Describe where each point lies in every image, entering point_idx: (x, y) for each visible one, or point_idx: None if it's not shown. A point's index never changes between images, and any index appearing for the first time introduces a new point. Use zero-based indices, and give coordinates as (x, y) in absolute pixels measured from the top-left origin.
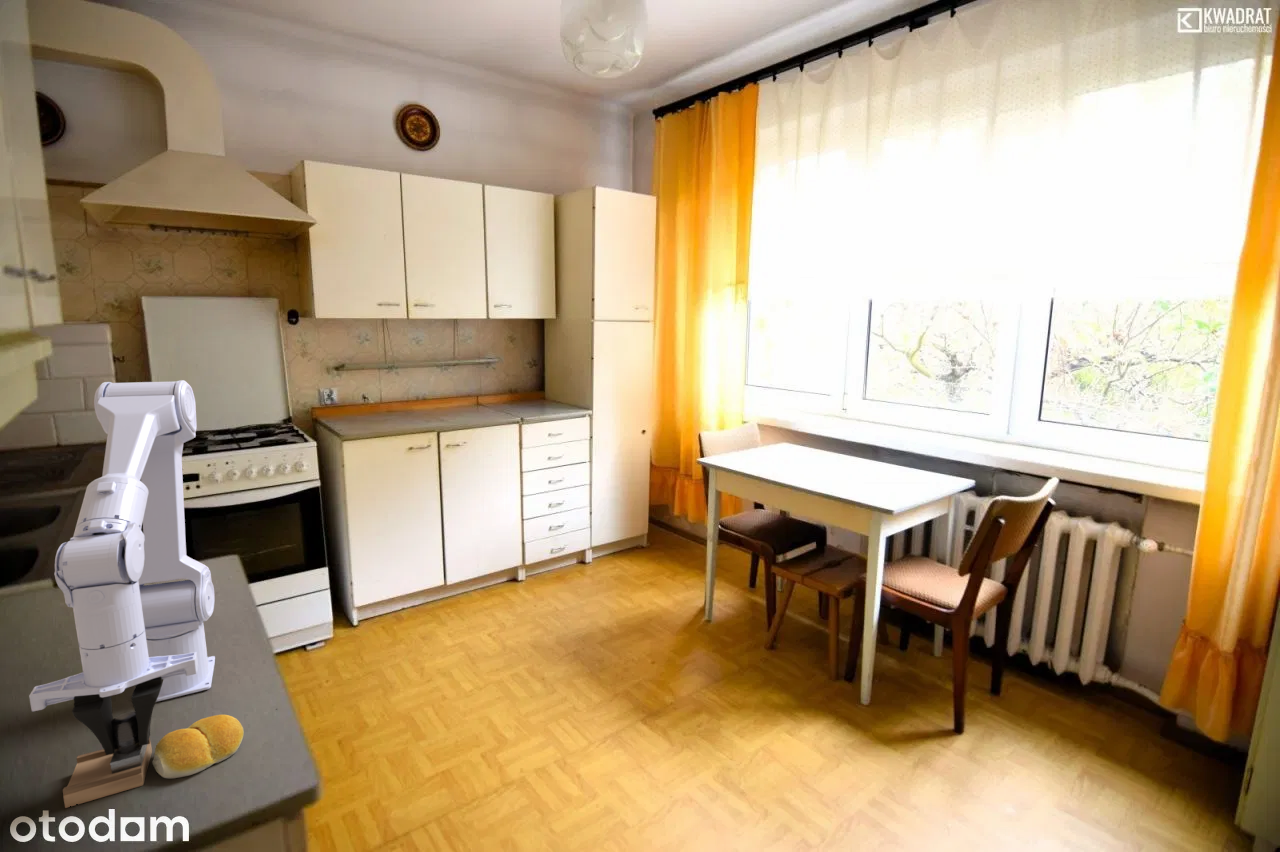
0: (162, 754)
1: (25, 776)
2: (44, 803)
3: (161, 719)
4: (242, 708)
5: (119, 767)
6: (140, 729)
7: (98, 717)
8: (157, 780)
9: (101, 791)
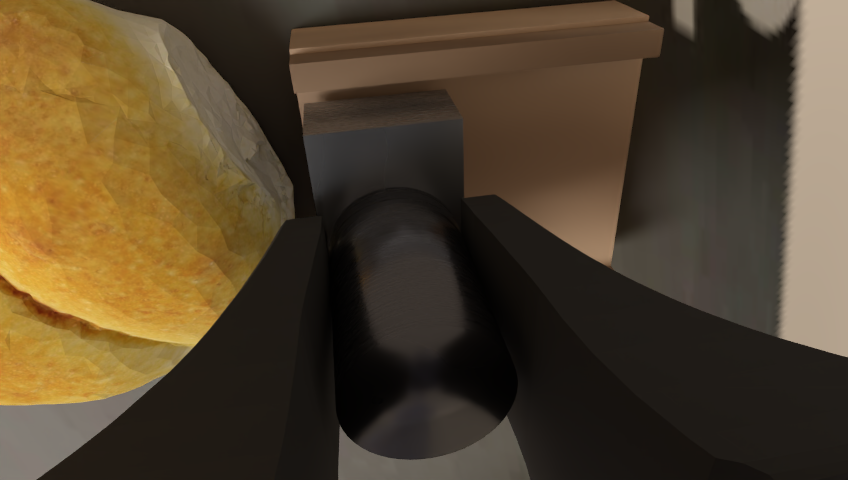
0: (183, 137)
1: (745, 287)
2: (690, 85)
3: (362, 460)
4: (30, 459)
5: (412, 107)
6: (291, 276)
7: (660, 371)
8: (227, 44)
9: (477, 21)
